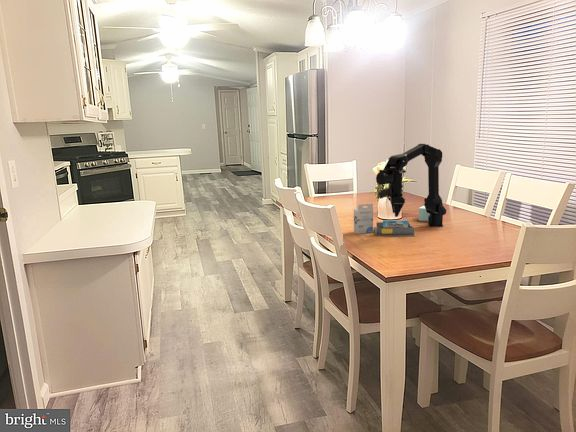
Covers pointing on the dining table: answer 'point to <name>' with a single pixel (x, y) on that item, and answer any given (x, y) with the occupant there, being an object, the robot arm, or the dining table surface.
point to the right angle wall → (423, 214)
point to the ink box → (363, 219)
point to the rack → (394, 231)
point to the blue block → (394, 224)
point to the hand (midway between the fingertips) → (395, 214)
